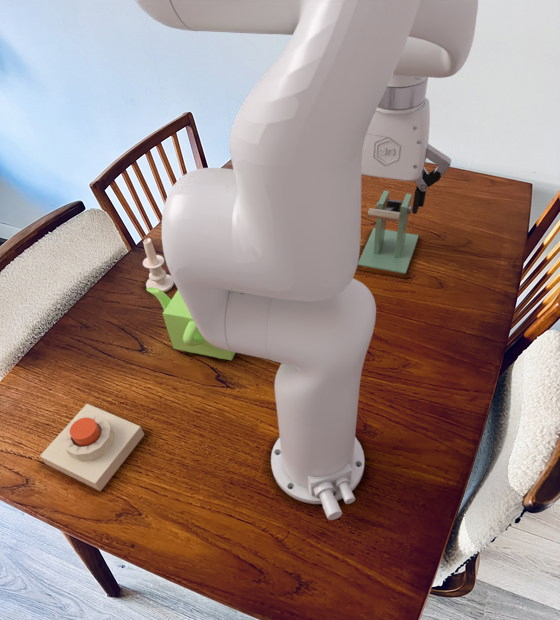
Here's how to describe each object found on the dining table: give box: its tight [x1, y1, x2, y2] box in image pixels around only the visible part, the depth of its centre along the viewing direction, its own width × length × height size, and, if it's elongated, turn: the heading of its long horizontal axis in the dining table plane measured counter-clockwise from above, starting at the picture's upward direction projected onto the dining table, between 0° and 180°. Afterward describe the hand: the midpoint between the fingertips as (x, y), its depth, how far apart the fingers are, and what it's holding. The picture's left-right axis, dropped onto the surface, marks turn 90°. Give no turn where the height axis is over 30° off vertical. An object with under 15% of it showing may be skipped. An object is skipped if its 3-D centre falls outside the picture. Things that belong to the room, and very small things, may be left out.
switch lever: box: [367, 198, 403, 223], centre depth 88 cm, size 12×5×2 cm, turn 159°
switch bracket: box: [357, 190, 420, 275], centre depth 95 cm, size 12×9×12 cm
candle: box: [142, 237, 175, 293], centre depth 94 cm, size 5×5×10 cm
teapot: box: [145, 287, 236, 361], centre depth 83 cm, size 15×13×11 cm
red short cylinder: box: [70, 418, 100, 446], centre depth 71 cm, size 4×4×2 cm
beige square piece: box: [39, 403, 145, 492], centre depth 73 cm, size 10×10×4 cm
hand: (385, 204), depth 82 cm, fingers open, 9 cm apart
